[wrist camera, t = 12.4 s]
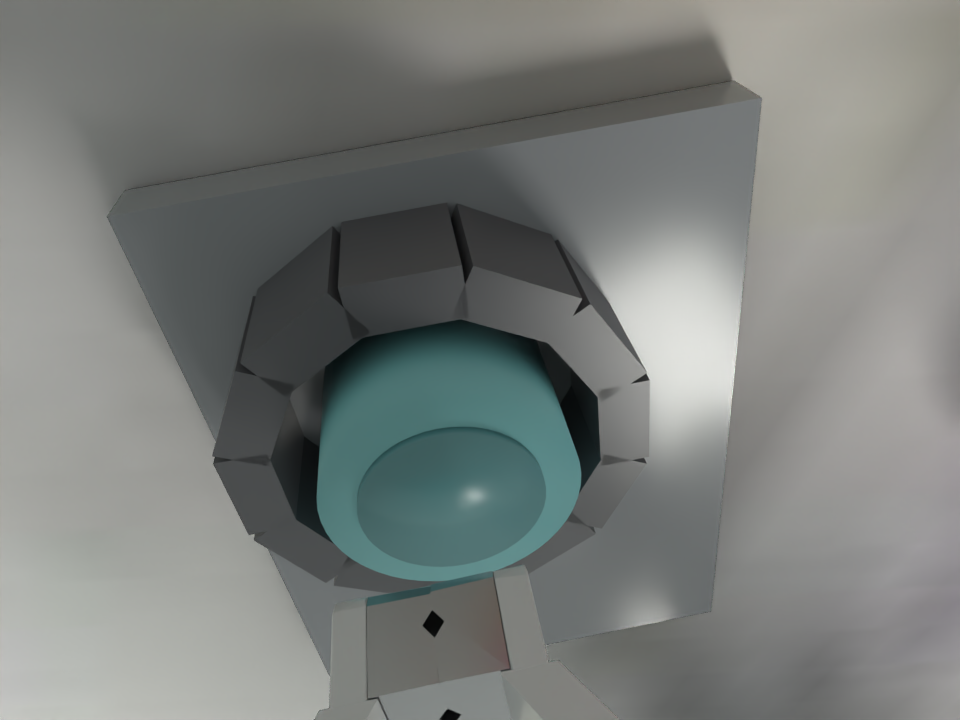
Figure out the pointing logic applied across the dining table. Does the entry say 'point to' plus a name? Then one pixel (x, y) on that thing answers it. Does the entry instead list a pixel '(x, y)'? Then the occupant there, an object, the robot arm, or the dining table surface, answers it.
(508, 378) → the cap
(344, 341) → the grey segmented ring
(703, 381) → the board
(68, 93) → the dining table surface
